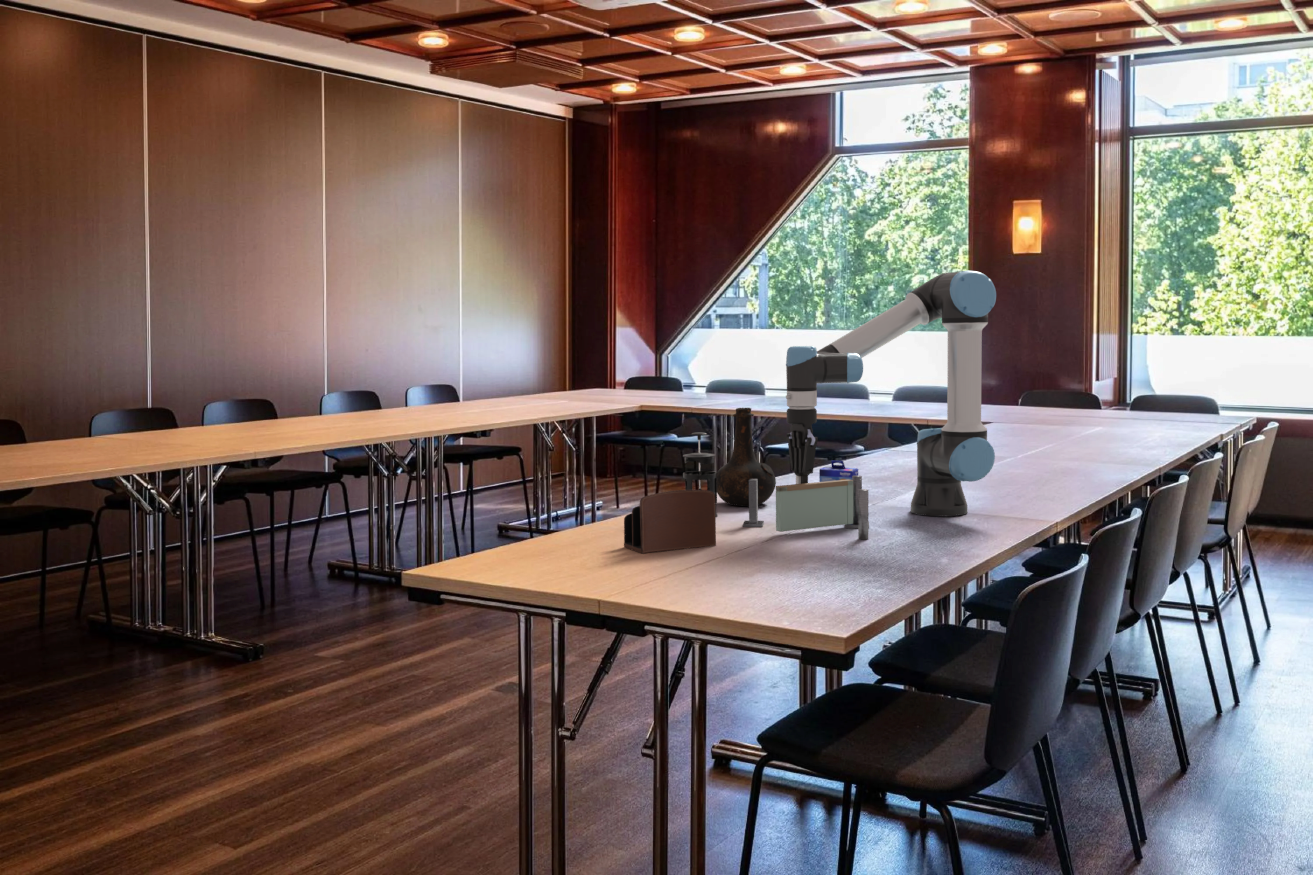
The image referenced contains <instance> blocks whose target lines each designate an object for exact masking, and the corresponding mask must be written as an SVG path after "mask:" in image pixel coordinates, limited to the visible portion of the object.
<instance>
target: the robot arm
mask: <svg viewBox="0 0 1313 875" xmlns="http://www.w3.org/2000/svg"><path fill="white" fill-rule="evenodd" d="M996 301H997V291H996V287H995V285H994V282H993V281H992V279H991V278H989V277H988V276H987V275H986V274H984V272H983V273H982V272H980V271H976V270H961V271H954V272H952V271H951V272H950V271H949V272H945V273H940V274H938V275H936V276H934V277H933V278H931V279H929V280H927V281H926V282H924V283H923V284H921V285H920V286H918V287H917V288H915V289H913V290H912V291H909V293H907V294H906V296H905V299H904V300H902V301H901V302H899V303H897V304H895V305H894V306H892V307H890V308H889V309H887V310H885V311H884V312H882V313H879V314H878V315H877V316H874V317H873V318H872V319H870V320H868V321H867V322H865V323H863V324H862V325H859V326H858V327H856V328H854V329H852V330H851V331H850V332H848V333H846V334H845V335H843V336H841V337H840V338H838V339H835V340H834V341H832V342H831V343H829V344H828V345H826V346H823V347H822V348H821V349H819V350H817V347H816V346H813V345H800V346H798V345H796V346H795V345H793V346H790V347H789V348H787V351H786V361H785V367H786V370H785V371H786V395H785V399H786V406H787V407H789V408H787V409H786V423H787V424H789V425H791V428H790V432H789V433H786V434H785V437H786V441H787V444H788V446H787V447H788V455H789V463H790V464H789V466H790V470H791V472H793V473H794V474H793V475H795V484H803V483H809V476H810V475H811V474H813V473H814V468H815V457H816V449H817V446H818V445H817V444H818V441H819V439H818V438H819V437H818V436H814V435H813V434H814V431H813V428H812V427H813V426H812V425H813V424H816V423H817V422H818V421H817V420H818V419H817V418H818V417H817V416H818V415H817V414H818V413H817V412H818V411H817V409H816V408H815V407H817V406H818V405H817V403H818V400H817V399H818V398H817V397H818V396H817V395H818V387H817V385H818V384H844V383H845V384H846V383H847V384H850V383H857V382H859V381H861V379H862V377H863V374H864V363H863V359H862V358H864V357H866V356H868V355H869V354H871V353H873V352H875V351H876V350H878V349H879V348H881V347H883V346H885V345H887V344H888V343H890V342H891V341H893V340H895V339H897V338H899V337H900V336H902V335H903V334H905V333H906V332H908V331H910V330H912V329H914V328H915V327H917V326H919V325H923V326H926V325H928V324H929V323H931V322H933V321H935V320H938V319H941V325H942V326H943V327H944V328H945V329H946V330H947V390H946V391H947V392H946V394H947V397H946V398H947V402H946V403H947V404H946V406H947V408H946V409H947V410H946V411H947V412H946V413H947V414H946V415H947V416H946V417H947V420H946V423H945V424H944V426H942V427H940V428H937V427H936V428H923V429H921V430H919V431H918V433H917V438H916V440H917V441H916V445H917V446H916V449H917V451H916V452H917V454H916V463H917V466H916V470H917V471H916V473H917V474H916V477H917V478H916V486H915V490H914V493H913V496H912V498H911V502H910V512H911V513H912V514H915V515H922V516H929V517H953V516H954V517H955V516H962V515H966V514H968V503H967V499H966V495H965V493H964V490H963V486H962V482H977V481H980V480H982V479H983V478H985V477H986V476H987V475H988V474H989V473H990V472H991V471H992V469H993V467H994V464H995V461H996V460H995V459H996V455H995V449H994V447H993V445H992V444H991V443H990V442H989V440H988V428H987V427H986V426H985V425H984V423H982V365H983V364H982V359H983V358H982V354H983V353H982V352H983V351H982V349H983V348H982V346H983V345H982V343H983V342H982V340H983V336H982V335H983V334H982V333H983V329H984V328H986V326H988V324H989V313H990V312H991V310H992V309H993V308H994V306H995V304H996Z"/></svg>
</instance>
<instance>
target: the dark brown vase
mask: <svg viewBox="0 0 1313 875" xmlns="http://www.w3.org/2000/svg"><path fill="white" fill-rule="evenodd" d="M753 416H754V417H755V414H754V413H752V407H737V408H736V409H735V413H734V414H732V417H735V428H734V429H735V430H734V431H735V432H734V442H733V449H732V453H731V457H730V459H729V461H728V462H727V463H725V464H724V465H723V466H721V467H720V468H719V469H718V470H717V471H716V472H717V496H718V497H719V498H720V499H721V500H722V501H724V503H726V504H728V505H730V506H736V507H749V479H757V484H758V506H759V505H762V504H764V503H765V502H767V501H768V500H769V499H770V497H771V496H772V495H773V493H774V491H775V490H776V486H777V485H776V484H777V481H776V476H775V473H774V470H773V469H772V467H771V466H770V465H768V464H766V463H763V462H759V461H758V460H757V457H756V455H755V449H754V441H753V430H752V417H753Z"/></svg>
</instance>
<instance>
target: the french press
mask: <svg viewBox="0 0 1313 875" xmlns="http://www.w3.org/2000/svg"><path fill="white" fill-rule="evenodd" d="M691 435H693V436H696V437H697V441H698V452H692V453H687V454H683V455H682V457H683V458H684V463H685V464H686V463H690V462H691V463H692V462H697V463H698V470H691V471H685V472H683V473H682V477H683V479H684V480H685V481H684V482H685V488H684V490H693V481H696V480H697V481H698V483H699V486H698V489H697V490H702V488H701V487H702V486H701V481H702V480H704V481H705V480H706V484H707V485H706V488H707V489H706V490H708V491H712V492H713V493H714V494H715V509H716V518H717V517H718V512H717V511H718V510H717V503H718V493H717V472H718V471H715V470H714V471H713V470H712V471H711V470H701V465H713V464H715V458H716V456H717V455H716V454H715V453H709V452H701V440H702V436H704V435H708V434H707V433H706V432H701V431H700V432H692V433H691Z"/></svg>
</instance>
